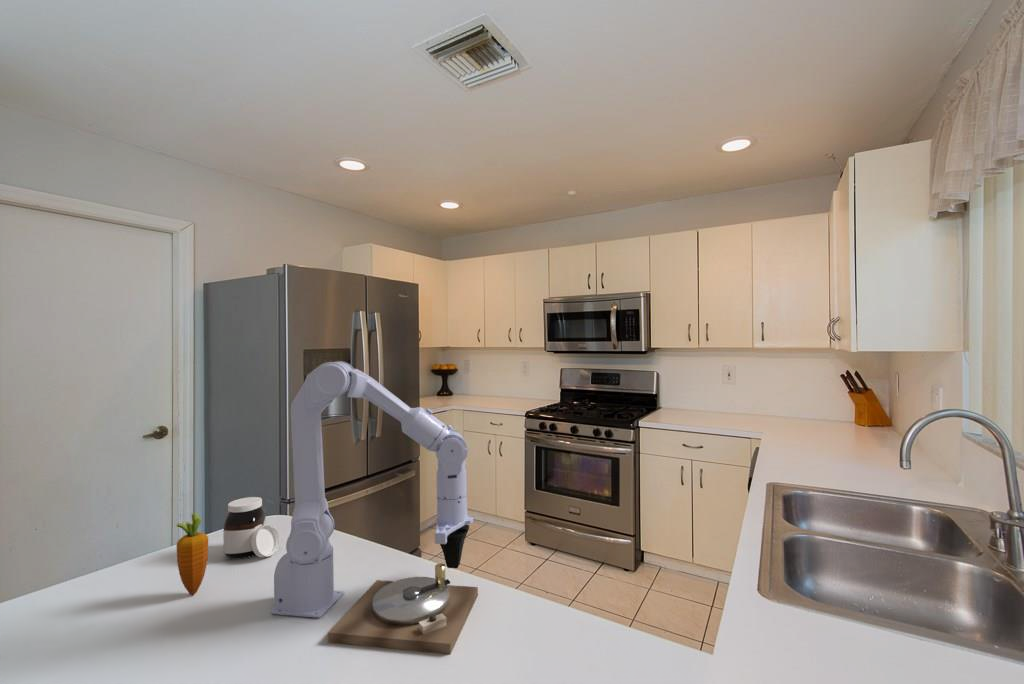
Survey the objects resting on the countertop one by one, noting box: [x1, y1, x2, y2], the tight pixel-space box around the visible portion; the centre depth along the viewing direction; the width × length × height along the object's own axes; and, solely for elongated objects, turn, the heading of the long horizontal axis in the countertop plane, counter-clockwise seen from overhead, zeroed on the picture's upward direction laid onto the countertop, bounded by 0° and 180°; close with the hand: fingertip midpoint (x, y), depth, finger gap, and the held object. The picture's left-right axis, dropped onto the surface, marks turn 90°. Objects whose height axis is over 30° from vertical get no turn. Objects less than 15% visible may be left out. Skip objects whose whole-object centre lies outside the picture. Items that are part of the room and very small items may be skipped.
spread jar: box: [222, 496, 280, 559], centre depth 105 cm, size 12×11×12 cm
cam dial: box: [373, 563, 451, 625], centre depth 80 cm, size 14×13×5 cm
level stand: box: [327, 579, 479, 655], centre depth 78 cm, size 20×16×3 cm
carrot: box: [176, 512, 209, 596], centre depth 87 cm, size 5×5×15 cm
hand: (453, 566), depth 88 cm, fingers closed
